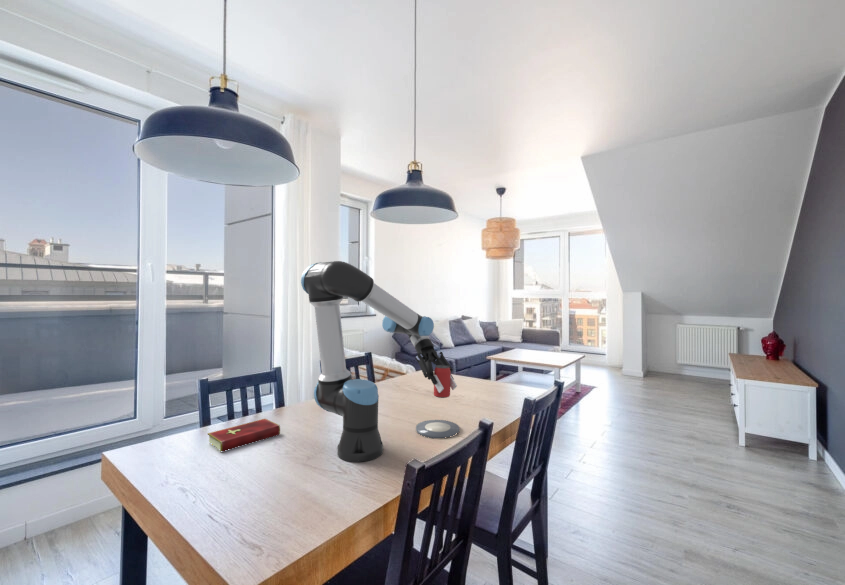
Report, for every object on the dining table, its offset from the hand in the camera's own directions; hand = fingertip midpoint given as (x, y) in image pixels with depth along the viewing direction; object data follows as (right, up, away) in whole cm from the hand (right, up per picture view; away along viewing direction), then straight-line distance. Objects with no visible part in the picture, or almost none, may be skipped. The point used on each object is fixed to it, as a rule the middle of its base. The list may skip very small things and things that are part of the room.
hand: (448, 389), depth 145 cm
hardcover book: (-75, -16, -9) cm, 78 cm away
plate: (-4, -16, 0) cm, 17 cm away
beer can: (-2, -4, +3) cm, 5 cm away
